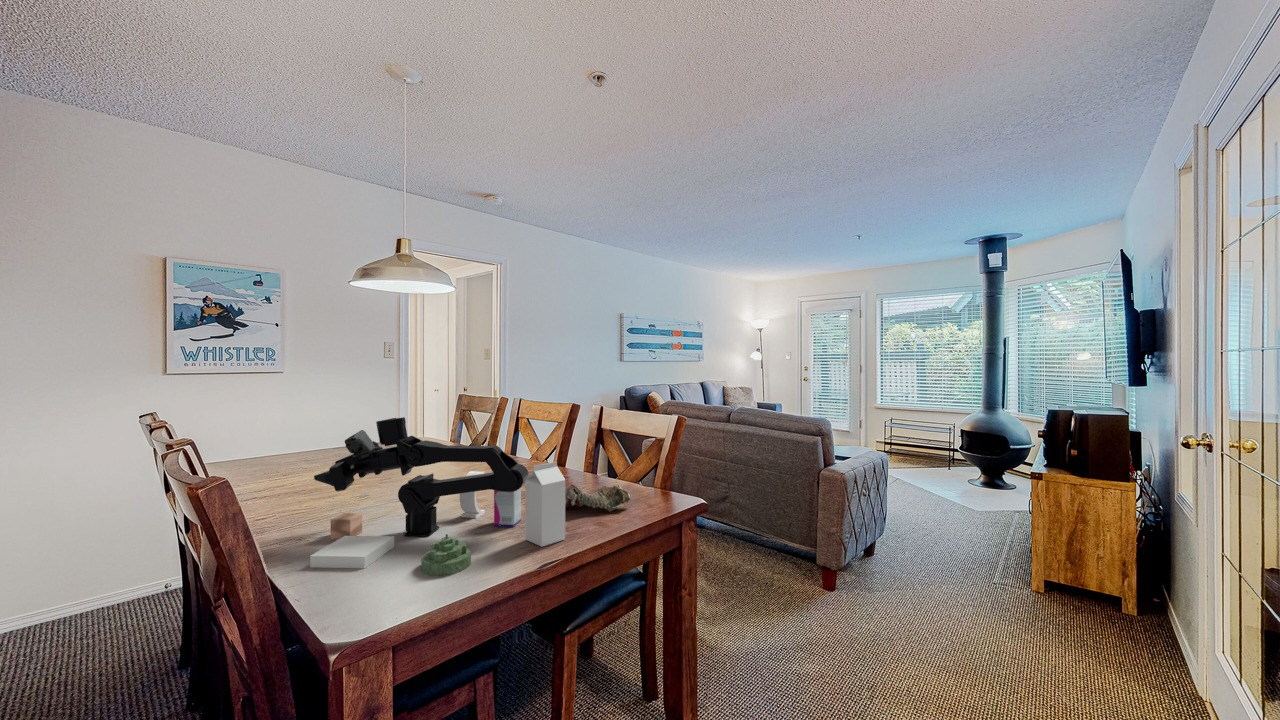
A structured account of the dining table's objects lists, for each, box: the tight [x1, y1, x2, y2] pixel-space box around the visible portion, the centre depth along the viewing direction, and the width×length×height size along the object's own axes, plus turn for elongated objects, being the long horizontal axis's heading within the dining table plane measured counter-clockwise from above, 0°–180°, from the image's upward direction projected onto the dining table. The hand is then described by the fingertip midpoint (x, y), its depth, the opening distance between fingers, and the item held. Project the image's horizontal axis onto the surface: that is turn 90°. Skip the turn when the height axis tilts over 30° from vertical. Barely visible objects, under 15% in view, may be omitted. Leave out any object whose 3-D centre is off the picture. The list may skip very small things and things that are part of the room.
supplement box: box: [493, 487, 522, 528], centre depth 136 cm, size 6×6×12 cm
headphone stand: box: [459, 470, 486, 519], centre depth 142 cm, size 5×6×12 cm
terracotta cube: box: [330, 512, 363, 540], centre depth 126 cm, size 5×5×5 cm
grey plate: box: [309, 535, 395, 569], centre depth 112 cm, size 12×12×2 cm
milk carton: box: [524, 461, 566, 547], centre depth 123 cm, size 7×7×19 cm
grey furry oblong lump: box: [565, 482, 633, 513], centre depth 150 cm, size 25×16×8 cm, turn 111°
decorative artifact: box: [421, 534, 472, 577], centre depth 108 cm, size 10×7×10 cm
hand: (325, 470), depth 128 cm, fingers open, 9 cm apart
